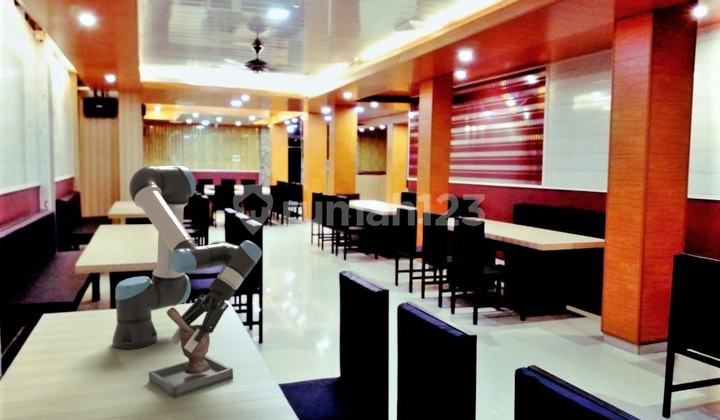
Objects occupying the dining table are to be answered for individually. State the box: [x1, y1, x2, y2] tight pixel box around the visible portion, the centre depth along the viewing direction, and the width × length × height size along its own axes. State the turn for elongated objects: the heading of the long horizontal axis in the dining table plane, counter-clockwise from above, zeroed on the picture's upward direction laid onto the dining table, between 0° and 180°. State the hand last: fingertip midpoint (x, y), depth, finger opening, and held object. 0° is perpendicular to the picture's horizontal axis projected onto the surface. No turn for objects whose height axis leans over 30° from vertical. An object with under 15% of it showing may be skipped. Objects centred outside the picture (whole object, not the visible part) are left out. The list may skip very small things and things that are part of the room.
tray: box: [148, 355, 234, 399], centre depth 161 cm, size 16×19×3 cm
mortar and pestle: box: [166, 306, 211, 374], centre depth 160 cm, size 12×9×20 cm
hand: (180, 346), depth 157 cm, fingers closed on mortar and pestle, 9 cm apart
